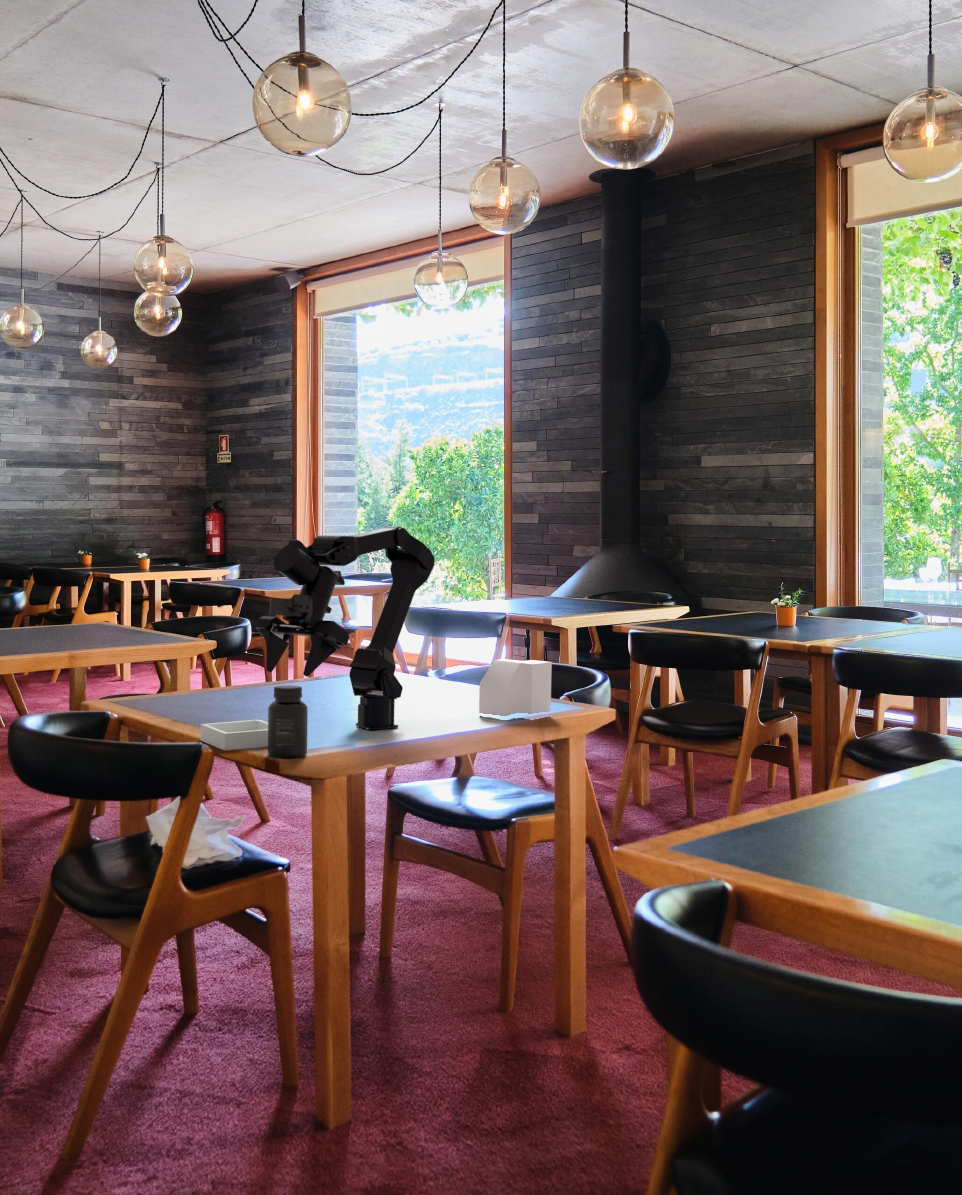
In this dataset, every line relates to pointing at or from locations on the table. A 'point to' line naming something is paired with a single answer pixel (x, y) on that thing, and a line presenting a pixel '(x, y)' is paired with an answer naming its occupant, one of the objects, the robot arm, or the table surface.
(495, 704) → the white chamfered block
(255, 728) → the tray
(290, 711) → the supplement bottle
